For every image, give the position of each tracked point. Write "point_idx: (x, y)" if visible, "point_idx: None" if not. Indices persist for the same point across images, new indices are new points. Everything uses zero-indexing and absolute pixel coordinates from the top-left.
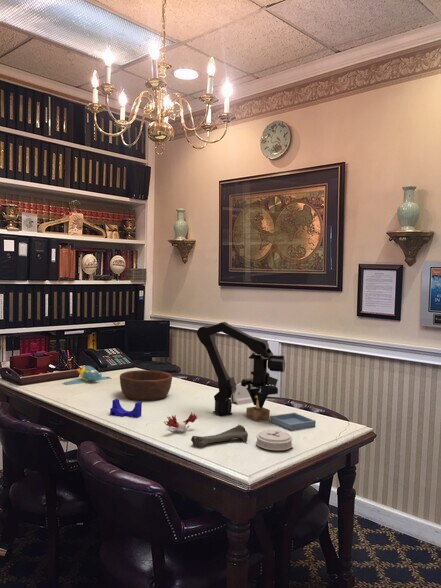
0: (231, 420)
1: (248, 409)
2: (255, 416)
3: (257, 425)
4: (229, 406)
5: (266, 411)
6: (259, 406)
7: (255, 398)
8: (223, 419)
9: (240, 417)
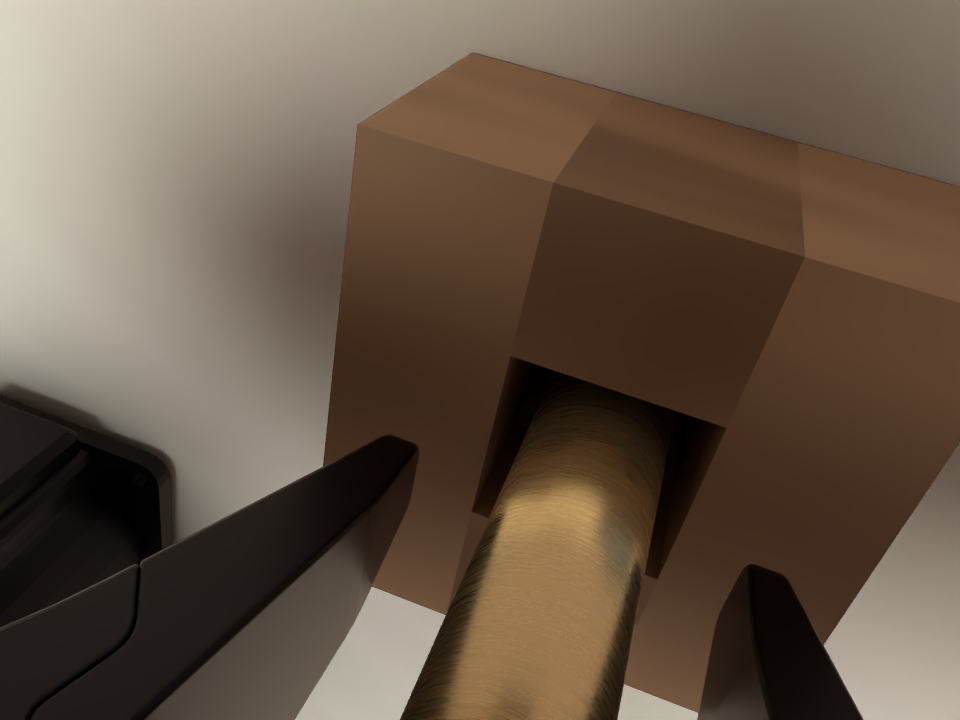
0: None
1: (407, 579)
2: None
3: (946, 712)
4: (11, 561)
5: (940, 441)
6: (641, 571)
7: (275, 668)
8: (315, 708)
9: None
